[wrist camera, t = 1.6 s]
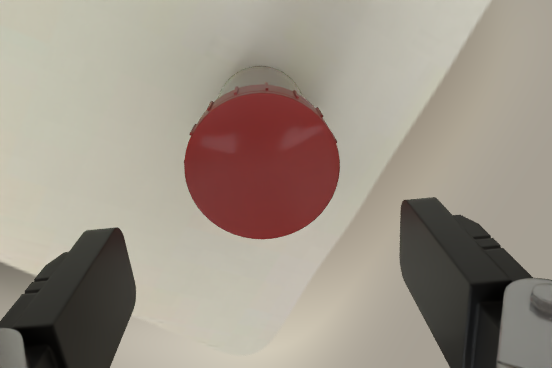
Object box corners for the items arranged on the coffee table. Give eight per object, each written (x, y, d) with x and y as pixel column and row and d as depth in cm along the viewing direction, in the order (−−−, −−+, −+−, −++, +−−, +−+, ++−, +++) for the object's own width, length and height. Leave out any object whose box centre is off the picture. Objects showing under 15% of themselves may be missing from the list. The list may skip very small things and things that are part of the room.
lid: (309, 231, 19) (314, 253, 17) (178, 202, 18) (170, 222, 17) (351, 104, 17) (362, 115, 15) (206, 65, 16) (200, 72, 15)
